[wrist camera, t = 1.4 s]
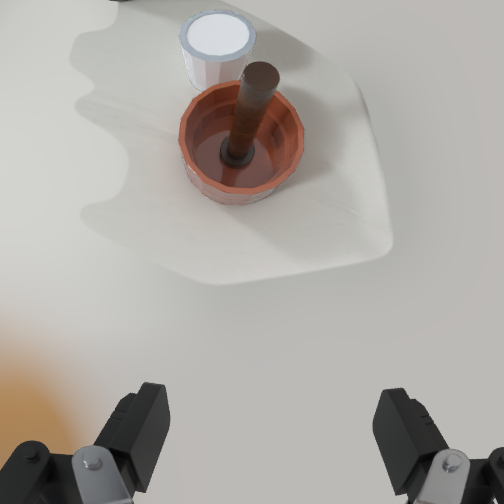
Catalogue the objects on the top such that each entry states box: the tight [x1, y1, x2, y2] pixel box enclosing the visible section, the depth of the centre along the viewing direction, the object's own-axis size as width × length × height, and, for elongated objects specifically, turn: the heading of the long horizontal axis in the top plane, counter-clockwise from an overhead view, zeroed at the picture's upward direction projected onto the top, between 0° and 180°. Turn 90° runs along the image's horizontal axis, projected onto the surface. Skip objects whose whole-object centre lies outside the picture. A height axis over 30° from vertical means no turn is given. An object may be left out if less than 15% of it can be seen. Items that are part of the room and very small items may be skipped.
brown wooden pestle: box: [220, 62, 280, 169], centre depth 22 cm, size 3×3×14 cm
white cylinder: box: [179, 9, 256, 91], centre depth 26 cm, size 7×7×7 cm
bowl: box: [178, 80, 304, 205], centre depth 27 cm, size 10×10×6 cm
